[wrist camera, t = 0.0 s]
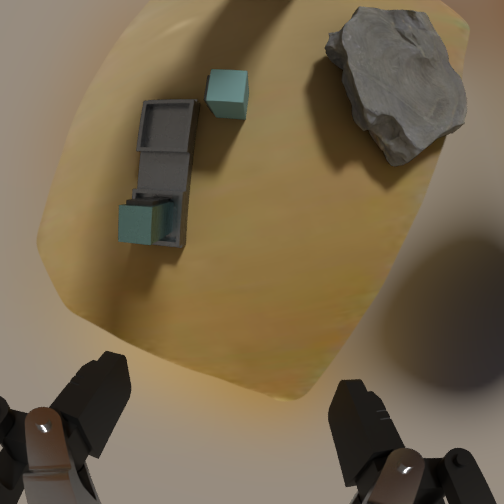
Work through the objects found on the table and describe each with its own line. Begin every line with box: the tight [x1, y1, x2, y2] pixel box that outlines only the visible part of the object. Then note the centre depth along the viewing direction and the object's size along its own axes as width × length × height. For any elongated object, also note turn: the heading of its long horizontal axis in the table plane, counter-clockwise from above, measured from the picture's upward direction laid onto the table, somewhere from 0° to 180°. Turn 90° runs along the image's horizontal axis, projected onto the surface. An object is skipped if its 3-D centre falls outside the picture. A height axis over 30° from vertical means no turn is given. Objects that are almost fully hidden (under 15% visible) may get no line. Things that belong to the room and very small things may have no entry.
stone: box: [325, 7, 467, 166], centre depth 27 cm, size 24×8×25 cm
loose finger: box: [204, 69, 249, 120], centre depth 29 cm, size 4×4×8 cm
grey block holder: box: [118, 99, 200, 248], centre depth 30 cm, size 20×7×10 cm, turn 174°
